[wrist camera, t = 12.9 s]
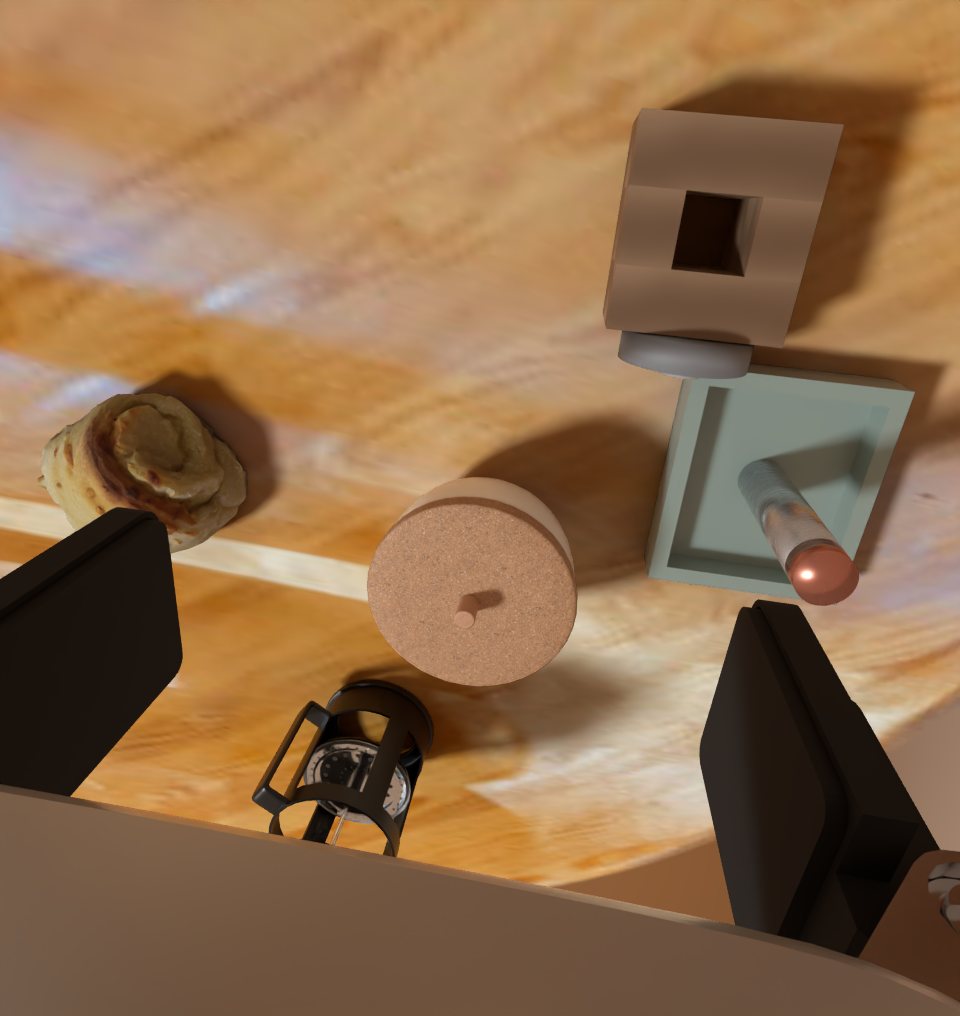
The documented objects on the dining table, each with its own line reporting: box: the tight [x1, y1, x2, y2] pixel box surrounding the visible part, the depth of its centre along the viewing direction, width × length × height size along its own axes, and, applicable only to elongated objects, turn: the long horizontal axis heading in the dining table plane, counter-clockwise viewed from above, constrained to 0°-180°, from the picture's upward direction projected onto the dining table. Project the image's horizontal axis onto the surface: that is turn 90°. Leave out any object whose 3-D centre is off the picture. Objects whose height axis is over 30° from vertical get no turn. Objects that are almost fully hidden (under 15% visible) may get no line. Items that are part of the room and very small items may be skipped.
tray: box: [644, 364, 915, 605], centre depth 41 cm, size 14×12×3 cm
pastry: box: [36, 393, 247, 554], centre depth 45 cm, size 14×12×8 cm
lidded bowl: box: [367, 477, 577, 686], centre depth 42 cm, size 13×13×11 cm
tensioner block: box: [603, 108, 844, 379], centre depth 35 cm, size 12×9×8 cm
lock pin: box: [738, 459, 859, 606], centre depth 36 cm, size 3×3×12 cm
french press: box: [252, 680, 434, 857], centre depth 46 cm, size 12×9×23 cm
